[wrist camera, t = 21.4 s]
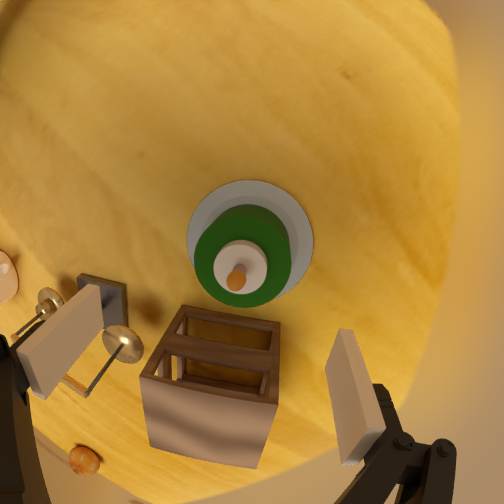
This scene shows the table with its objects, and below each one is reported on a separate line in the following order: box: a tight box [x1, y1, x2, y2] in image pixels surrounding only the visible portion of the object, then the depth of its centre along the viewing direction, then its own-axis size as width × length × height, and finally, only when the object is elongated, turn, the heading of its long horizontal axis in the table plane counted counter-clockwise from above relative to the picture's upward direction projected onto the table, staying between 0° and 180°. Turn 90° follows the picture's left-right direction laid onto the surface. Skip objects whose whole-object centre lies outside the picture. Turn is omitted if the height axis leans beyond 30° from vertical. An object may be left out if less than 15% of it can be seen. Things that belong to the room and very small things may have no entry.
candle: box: [194, 204, 292, 308], centre depth 25 cm, size 8×8×10 cm
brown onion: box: [69, 447, 100, 476], centre depth 49 cm, size 8×8×8 cm
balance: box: [11, 274, 144, 399], centre depth 29 cm, size 7×18×16 cm, turn 82°
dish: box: [187, 180, 313, 298], centre depth 31 cm, size 13×13×1 cm
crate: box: [139, 305, 280, 469], centre depth 30 cm, size 12×12×13 cm
